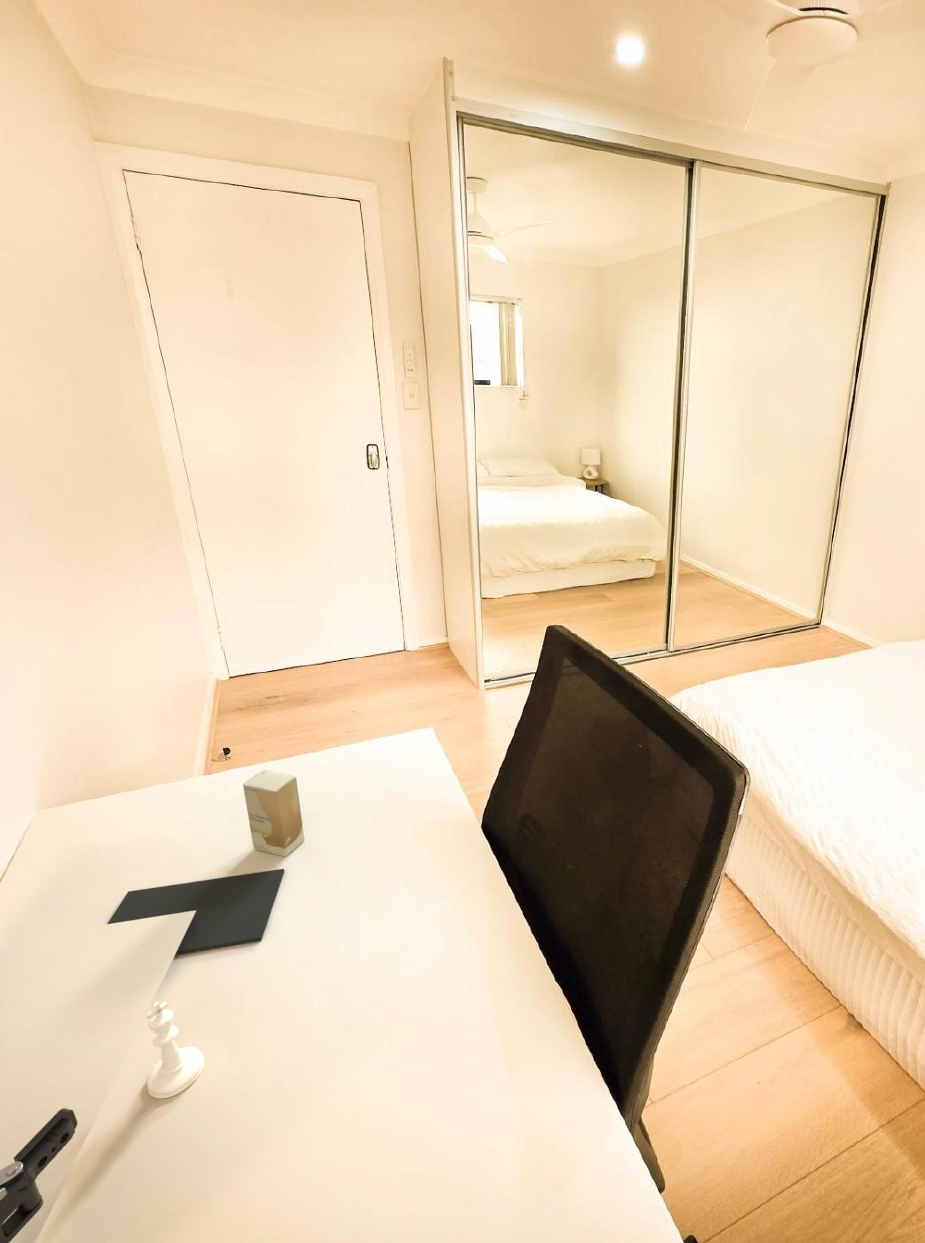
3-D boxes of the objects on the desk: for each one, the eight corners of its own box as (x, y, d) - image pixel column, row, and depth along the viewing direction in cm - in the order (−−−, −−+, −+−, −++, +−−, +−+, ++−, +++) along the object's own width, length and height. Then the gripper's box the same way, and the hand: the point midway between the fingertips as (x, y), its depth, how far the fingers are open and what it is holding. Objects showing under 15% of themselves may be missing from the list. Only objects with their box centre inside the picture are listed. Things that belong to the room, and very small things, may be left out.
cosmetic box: (252, 850, 96) (239, 783, 92) (273, 832, 100) (261, 768, 96) (287, 858, 95) (275, 791, 91) (307, 840, 99) (296, 775, 95)
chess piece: (214, 1066, 65) (195, 997, 62) (162, 1108, 61) (139, 1037, 58) (189, 1042, 67) (170, 974, 64) (138, 1081, 63) (115, 1011, 60)
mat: (79, 972, 75) (78, 968, 75) (129, 894, 87) (128, 891, 86) (261, 940, 80) (260, 937, 80) (284, 871, 92) (284, 868, 92)
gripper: (-347, 1409, 37) (-31, 1117, 52) (-158, 1479, 34) (113, 1153, 50) (-412, 1339, 34) (-61, 1055, 49) (-213, 1409, 32) (90, 1090, 47)
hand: (26, 1104), depth 49 cm, fingers open, 8 cm apart
